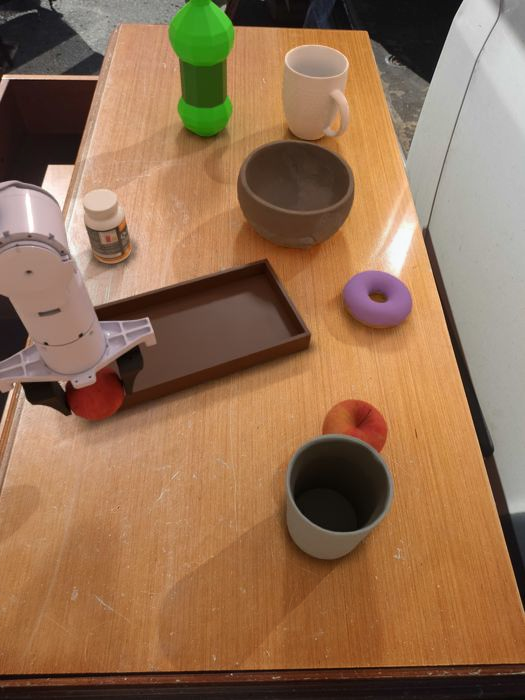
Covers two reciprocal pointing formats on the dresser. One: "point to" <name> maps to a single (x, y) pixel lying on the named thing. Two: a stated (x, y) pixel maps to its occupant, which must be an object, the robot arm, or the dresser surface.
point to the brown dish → (209, 328)
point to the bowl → (295, 192)
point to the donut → (374, 312)
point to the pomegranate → (96, 396)
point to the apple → (357, 422)
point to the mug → (315, 91)
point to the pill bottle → (106, 226)
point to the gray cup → (336, 494)
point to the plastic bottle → (203, 65)
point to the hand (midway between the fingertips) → (97, 397)
